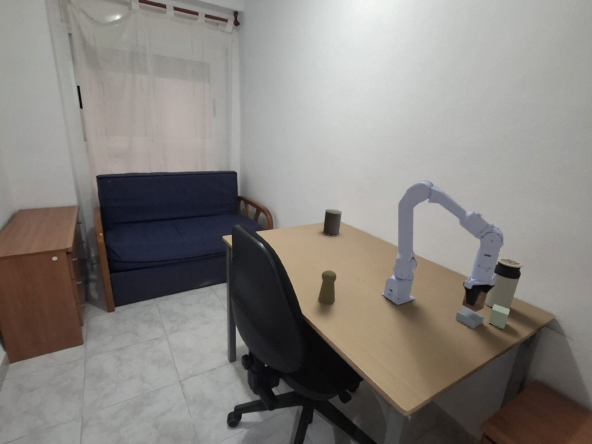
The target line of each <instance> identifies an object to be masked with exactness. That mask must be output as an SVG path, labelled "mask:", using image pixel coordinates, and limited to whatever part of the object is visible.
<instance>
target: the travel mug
mask: <svg viewBox="0 0 592 444" xmlns="http://www.w3.org/2000/svg"><path fill="white" fill-rule="evenodd" d="M523 266H524V265H523V264H522V262H520V261H518V260H515V259H513V258H509V257H508V258H507V257H498V260H497V263H496V267H495V270H494V273H493V274H495V275H496V276H495V280H492V281H493V282H495V286H494V287H493V288H492V289H491V290H490V291H489V292H488V293H487V297H486V301H485V304H486V305H487V306H488V307H490V308H491V307H492V308H493V305H494V304H496V305H499V306H502V307H505V308H507V309H511V306H512V304H513V303H512V302H513V299H514V296H515V293H516V290H517V287H518V285H519V282H520V281H519V280H520V278H521V274H522V273H521V268H523ZM492 308H491V309H492Z"/></svg>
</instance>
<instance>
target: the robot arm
mask: <svg viewBox="0 0 592 444" xmlns="http://www.w3.org/2000/svg"><path fill="white" fill-rule="evenodd" d="M425 201H427V203H431V204H439V205H440V206H441V207H442V208H444V209H445V210H447V211H448V212H449V213H451V214H452V215H453V216H454V217H456V218H457V219H458V220H459V222H458V224H459V225H460V227H462V228H464V229H465V230H466V231H467V232H468V233H469V234H471V236H473V237H475V238H476V239H477V240H479V247H478V249H477V250H476V255H475V258H474V262H473V267H472V269H471V273H470V274H469V276H468V278H467V279H466V280H464V281H463V283H462V287H464V291H465V292H466V303H467V304H469V305H471V306H473V305H474V304H475V302H476V300H477V297H478V296H479V294H480V293H481V292H484V293H486V294H487V293H488V292H489V291H490V290H491V289H492V288H493V287H494V286H495V282H493V281H492V280H495V276H496V275H495V274H493V273H494V270H495V267H496V265H497V264H498V258H499V256H500V255H499V254H500V250H501V248H502V247H503V246H504V234H503V232H502V230H501V229H500V228H499V227H497V226H495V225H494V224H493V223H489V222H488V221H487V220H485V219H484V218H483V217H482V214H481V213H480V212H477V213H476V212H475V211H469V210H466V209H465V208H463V207H462V206H461V205H460V204H459V203H458V202H457V201H456V200H454V199H453V198H452V197H451V195H449V194H448V193H446V191H444V190H443V189H441V188H440V186H437V185H436V184H434V183H433V182H432V181H430V180H420V181H419V182H417V183H414V184H412V185H411V186H409V188H407V189H406V191H405V193H404V195H402V197H401V198H400V201H398V206H397V208H398V209H397V213H398V214H397V215H398V216H397V217H398V218H397V220H398V221H397V222H398V223H397V226H398V227H397V228H398V229H397V234H398V235H397V239H398V240H397V242H398V244H397V254H396V257H395V264H394V266H393V269H392V271H393V272H392V273H393V274H392V275H391V277H388V278H387V279H386V281H385V286H384V292H382V293H381V295H382V296H383V297H385V298H387V299H388V300H390V301H391V302H393V303H394V304H396V305H397V306H399V305H402V304H405V303H408V302H411V301H414V300H415V299H416V298H415V297H414V296H413V295H411V293H412V288H413V284H414V279H415V275H414V271H415V270H416V268H417V267H418V261H417V260H416V258H415V252H414V209H415V207H416V206H418V205H419V204H420V203H423V202H425Z"/></svg>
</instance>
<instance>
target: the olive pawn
mask: <svg viewBox="0 0 592 444" xmlns="http://www.w3.org/2000/svg"><path fill="white" fill-rule="evenodd" d="M321 280H322V281H321V282H322V283H321V286H320V291H319V294H318V298H317V299H318V301H319V302H320V303H322V304H324V305H333V304H335V302H336V292H335V289H336V288H335V282H336V280H337V274H336V272H335V271H333V270H330V269H329V270H324V271H323V272H322V273H321Z"/></svg>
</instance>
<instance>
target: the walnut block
mask: <svg viewBox="0 0 592 444" xmlns="http://www.w3.org/2000/svg"><path fill="white" fill-rule="evenodd" d="M486 297H487V294H486V293H484V292H481V293H480V294H479V296H478V297H477V300H476V302H475V304H474V305H473V306H471V305H469V304H467V303H466V292H465V293H464V296H463V300H462V303H461V306H463V307H464V308H465V307H467V308H469V309H471V310H473V311H475V312H477V313H478V312H479V311H481V310H484V308H485V304H486V303H485V301H486Z"/></svg>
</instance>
